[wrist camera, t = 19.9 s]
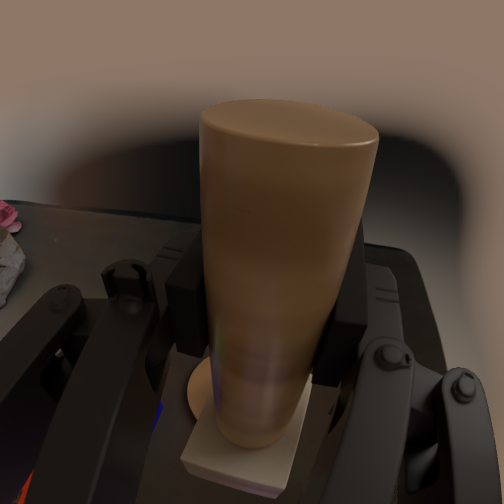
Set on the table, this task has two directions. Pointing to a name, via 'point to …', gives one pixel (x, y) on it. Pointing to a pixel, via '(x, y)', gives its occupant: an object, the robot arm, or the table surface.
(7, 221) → the flower
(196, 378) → the coaster
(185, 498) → the table surface
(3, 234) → the stone
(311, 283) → the brush
